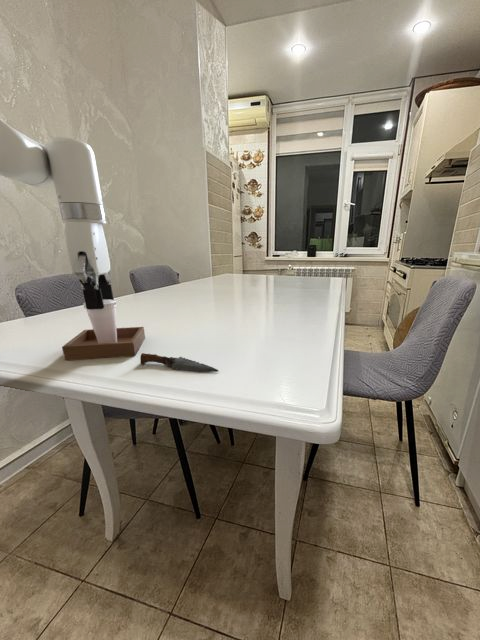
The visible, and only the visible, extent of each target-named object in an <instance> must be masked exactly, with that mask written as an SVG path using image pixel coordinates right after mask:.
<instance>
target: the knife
mask: <svg viewBox="0 0 480 640" xmlns="http://www.w3.org/2000/svg"><path fill="white" fill-rule="evenodd" d="M146 363H158V364H163V365H164V366H166V367H170V368H171V370H178V371H181V370H182V371H195V372H201V373H208V372H209V373H211V372H214V373H216V372H217V373H218V372H219V369H218V368H215V367H213V366H210V365H208V364H205V363H200V362H199V361H196V360H192V359H189V358H186V357H182V356H179V357H174V356H173V357H172V356H170V357H168V356H161V355H158V354H156V353H154V354H152V353H145V352H141V354H140V365H143V364H146Z"/></svg>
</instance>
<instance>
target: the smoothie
mask: <svg viewBox="0 0 480 640" xmlns="http://www.w3.org/2000/svg"><path fill="white" fill-rule="evenodd" d="M103 303H104V308H103V309H87V308H86V303H85V302H83V303H82V304H83V309H85V310H86V313H87V317H88V318H89V321H90V324H91V327H92V329H94V332H95V335H96V338H97V340H98V343H99V344H100V343H117V328H118V327H117V310H116V309H117V308H116V307H117V306H118V304H117V301H116V300H115V299H114V300H111V299H103Z"/></svg>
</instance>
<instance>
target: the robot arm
mask: <svg viewBox="0 0 480 640" xmlns="http://www.w3.org/2000/svg"><path fill="white" fill-rule="evenodd" d="M97 167H98V166H97V161H96V157H95V153H94V150H93V148H92V147H91V146H90V144H88V143H87V142H86V141H83V140H80V139H76V138H72V137H65V136H56V137H52V138H49V139H48V140H47V141H46V144H43V143H41V142H39V141H36V140H35V139H32V138H31V137H29V136H27V135H25V134H24V133H22V132H20V131H19V130H17V129H15V128H13V127H12V126H11V125H9V124H8V123H6V122H5V121H4V120H3V119H2V118H0V176H2V177H5V178H8V179H12V180H14V181H18V182H21V183H23V184H26V185H28V186H31V187H34V188H39V189H46V188H54V190H55V194H56V197H57V198H56V199H57V201H58V207H59V212H60V216H61V221H62V223H63V224H64V234H65V243H66V250H67V254H68V255H67V256H68V261H69V266H70V271H71V273H72V275H74V277H75V276H76V277H78V278H79V283H80V287H81V290H82V294H83V299H84V303H86V308H87V309H103V308H104V303H103V299H111V300H115V299H114V293H113V287H112V283H111V282H112V281H111V277H110V271H111V260H110V255H109V248H108V245H107V240H106V235H105V231H104V227H103V225H107V219H106V213H105V207H104V202H103V196H102V189H101V185H100V178H99V173H98V172H99V171H98V168H97Z"/></svg>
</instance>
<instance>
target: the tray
mask: <svg viewBox="0 0 480 640" xmlns="http://www.w3.org/2000/svg"><path fill="white" fill-rule="evenodd" d="M116 328H117V343H100V344H99V343H98V340H97V338H96V335H95V332H94V329H93V328H90V329H84V330H82V331H81V332H79V333H78V334H77V335H75V336H74V337H73V338H71V339H70V340H69V341H68V342H67V343H65V344H63V346H61V349H62V353H63V357H64V360H65V361H76V360H77V361H78V360H79V361H80V360H93V359H107V358H121V357H122V358H123V357H136V355H137V353H138V352H139V350H140V348H141V346H142V345H143V343H144V341H145V339H146V335H145V327H144V326H132V327H129V326H128V327H116Z"/></svg>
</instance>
